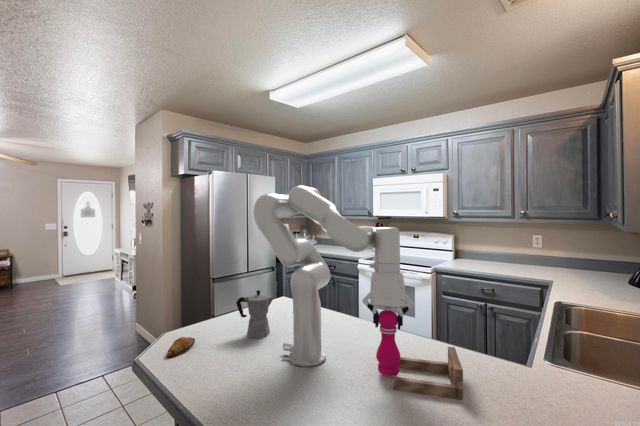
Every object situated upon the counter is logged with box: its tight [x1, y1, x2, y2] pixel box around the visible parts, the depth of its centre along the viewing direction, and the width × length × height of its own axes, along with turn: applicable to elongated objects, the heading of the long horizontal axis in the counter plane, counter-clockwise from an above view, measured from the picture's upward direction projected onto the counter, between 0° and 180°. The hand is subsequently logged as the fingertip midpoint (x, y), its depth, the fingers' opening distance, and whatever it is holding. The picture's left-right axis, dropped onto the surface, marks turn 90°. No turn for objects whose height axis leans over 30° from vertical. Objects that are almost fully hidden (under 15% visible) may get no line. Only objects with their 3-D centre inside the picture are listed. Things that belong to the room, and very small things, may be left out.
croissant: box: [166, 336, 196, 359], centre depth 111 cm, size 14×7×5 cm, turn 165°
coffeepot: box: [236, 289, 275, 339], centre depth 125 cm, size 15×9×18 cm, turn 103°
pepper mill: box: [375, 307, 402, 377], centre depth 92 cm, size 7×7×20 cm
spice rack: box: [392, 346, 464, 401], centre depth 89 cm, size 18×14×8 cm
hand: (388, 326), depth 92 cm, fingers closed on pepper mill, 6 cm apart
